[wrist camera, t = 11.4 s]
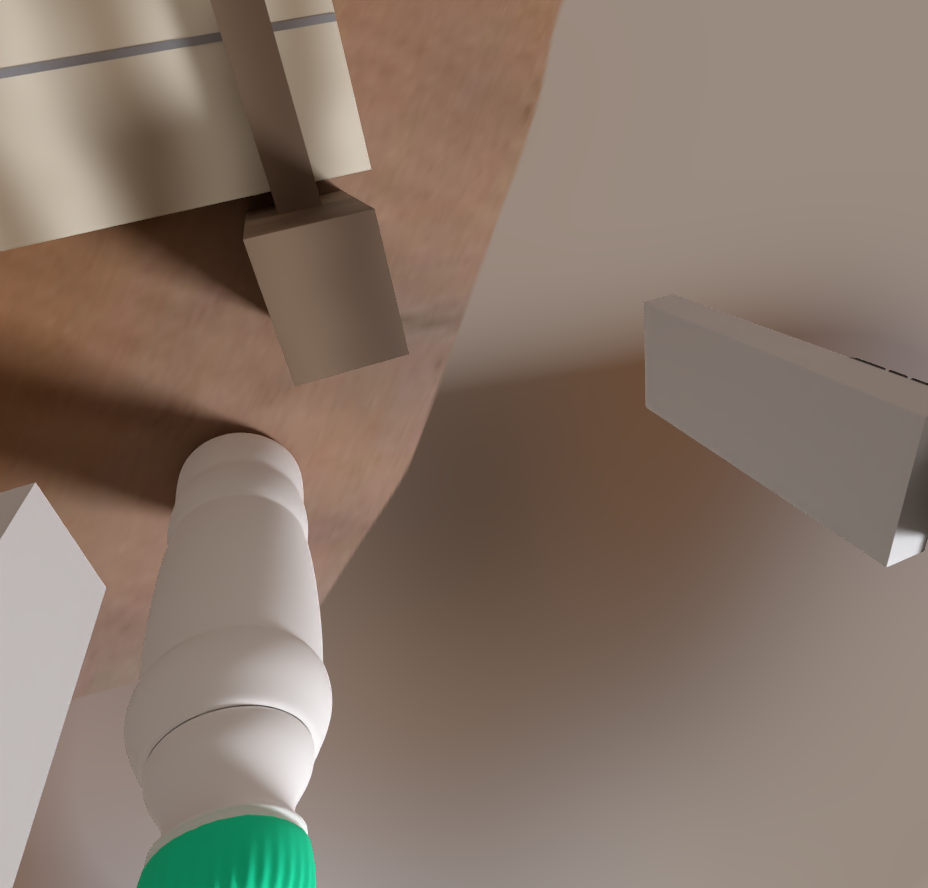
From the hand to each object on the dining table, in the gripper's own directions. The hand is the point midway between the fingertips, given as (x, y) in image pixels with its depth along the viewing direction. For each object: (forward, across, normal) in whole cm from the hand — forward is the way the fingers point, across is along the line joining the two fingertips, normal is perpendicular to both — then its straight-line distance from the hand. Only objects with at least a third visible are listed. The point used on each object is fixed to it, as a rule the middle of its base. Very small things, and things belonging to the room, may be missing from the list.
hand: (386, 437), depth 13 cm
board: (+22, -6, +9) cm, 25 cm away
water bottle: (+23, -8, -12) cm, 27 cm away
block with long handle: (+23, +1, +4) cm, 23 cm away
